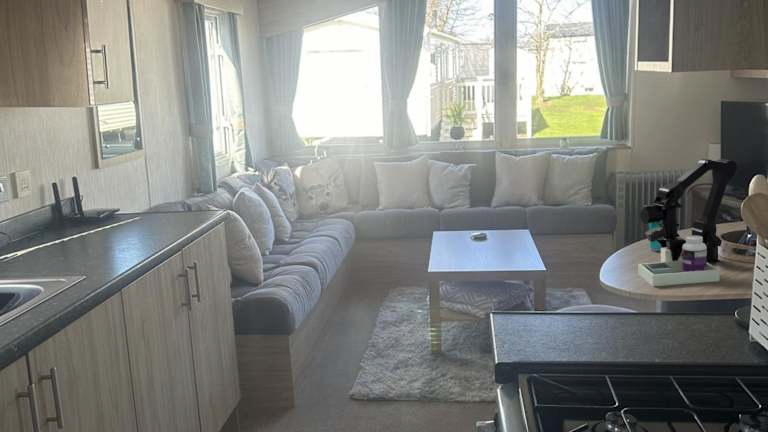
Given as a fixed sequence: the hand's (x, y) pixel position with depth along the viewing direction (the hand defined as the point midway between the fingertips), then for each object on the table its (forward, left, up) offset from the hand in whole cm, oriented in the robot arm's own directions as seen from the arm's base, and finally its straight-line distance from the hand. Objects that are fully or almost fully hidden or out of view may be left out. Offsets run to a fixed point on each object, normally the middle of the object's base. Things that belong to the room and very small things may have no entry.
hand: (670, 260), depth 285 cm
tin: (+9, +15, -2) cm, 18 cm away
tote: (+3, +15, -2) cm, 15 cm away
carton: (0, 0, -2) cm, 2 cm away
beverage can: (-4, -26, -2) cm, 26 cm away
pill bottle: (-3, +15, -2) cm, 16 cm away
